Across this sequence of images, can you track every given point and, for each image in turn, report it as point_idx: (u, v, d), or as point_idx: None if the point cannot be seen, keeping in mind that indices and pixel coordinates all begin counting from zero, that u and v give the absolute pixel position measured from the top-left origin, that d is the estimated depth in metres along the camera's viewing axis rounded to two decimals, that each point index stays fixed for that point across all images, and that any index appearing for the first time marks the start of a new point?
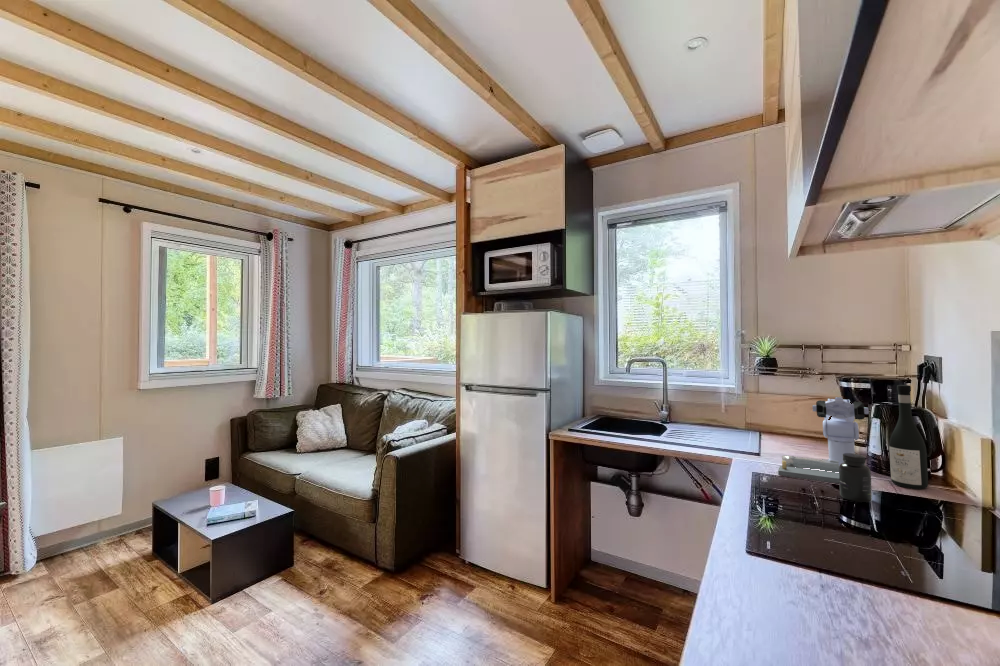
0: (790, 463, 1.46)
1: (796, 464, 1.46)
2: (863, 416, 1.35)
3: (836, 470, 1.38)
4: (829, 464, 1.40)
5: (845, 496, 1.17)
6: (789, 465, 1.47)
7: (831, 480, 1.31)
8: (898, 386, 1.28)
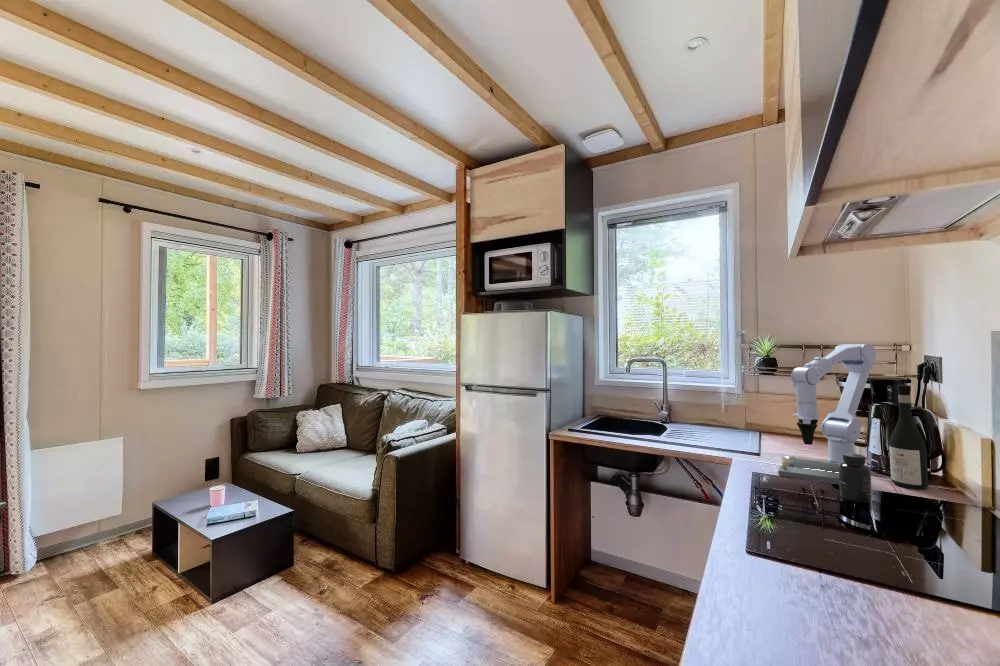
0: (790, 463, 1.46)
1: (796, 464, 1.46)
2: (813, 427, 1.40)
3: (836, 470, 1.38)
4: (829, 464, 1.40)
5: (845, 496, 1.17)
6: (789, 465, 1.47)
7: (831, 480, 1.31)
8: (898, 386, 1.28)
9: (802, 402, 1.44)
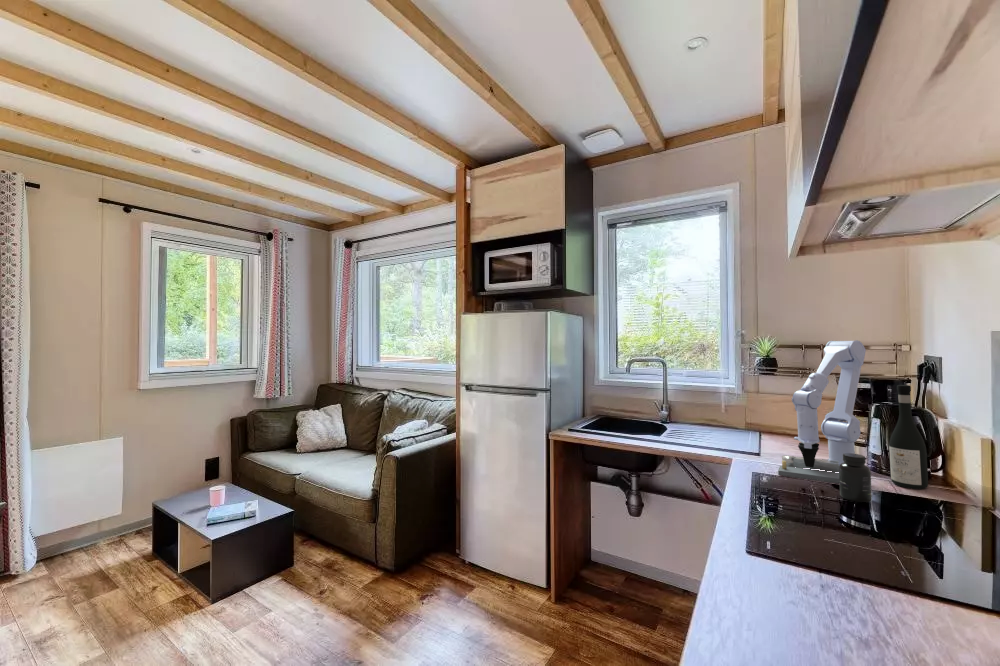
0: (790, 463, 1.46)
1: (796, 464, 1.46)
2: (814, 450, 1.41)
3: (836, 470, 1.38)
4: (829, 464, 1.40)
5: (845, 496, 1.17)
6: (789, 465, 1.47)
7: (831, 480, 1.31)
8: (898, 386, 1.28)
9: (803, 426, 1.44)
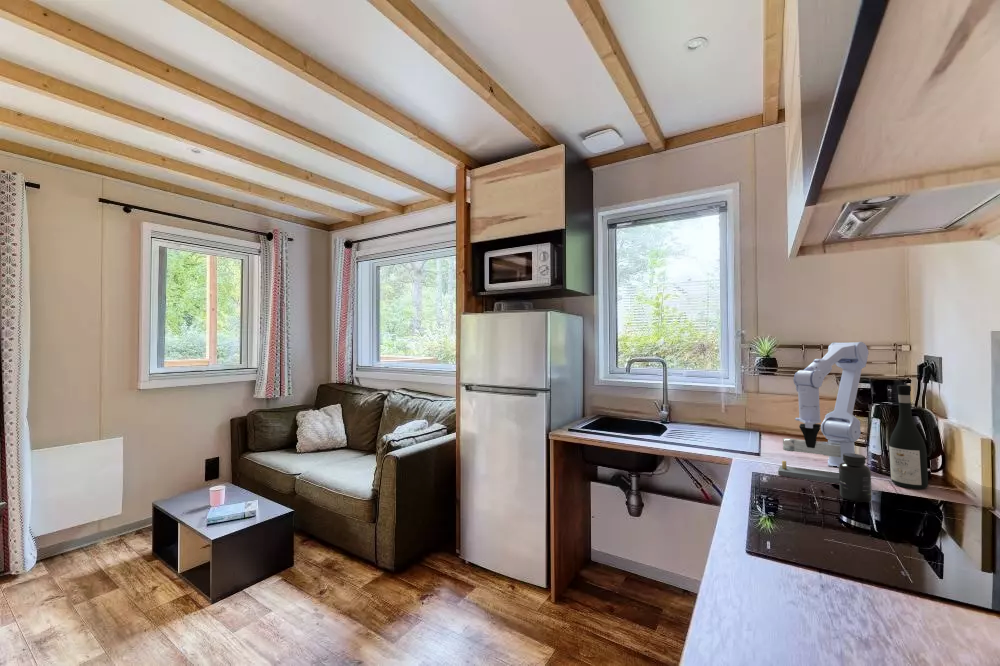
0: (790, 445, 1.44)
1: (797, 446, 1.44)
2: (816, 430, 1.39)
3: (838, 452, 1.36)
4: (830, 446, 1.37)
5: (845, 496, 1.17)
6: (790, 448, 1.44)
7: (831, 480, 1.31)
8: (898, 386, 1.28)
9: (804, 406, 1.42)
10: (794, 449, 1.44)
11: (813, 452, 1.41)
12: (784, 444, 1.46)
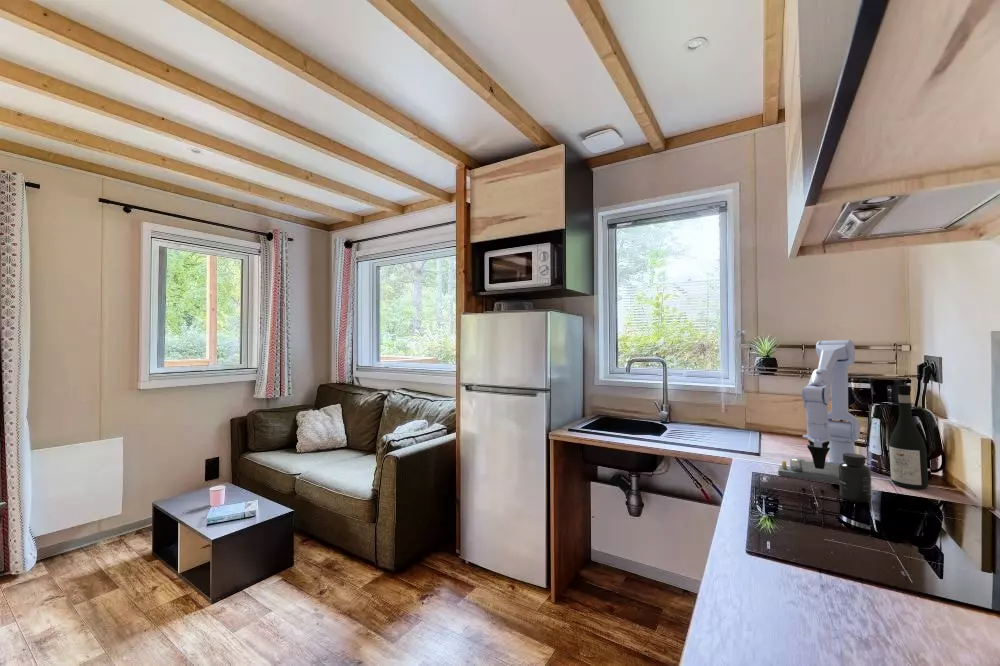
0: (798, 466, 1.38)
1: (805, 467, 1.37)
2: (825, 451, 1.30)
3: None
4: None
5: (845, 496, 1.17)
6: (798, 468, 1.38)
7: (831, 480, 1.31)
8: (898, 386, 1.28)
9: (813, 423, 1.35)
10: (802, 470, 1.37)
11: (822, 473, 1.34)
12: (791, 464, 1.39)
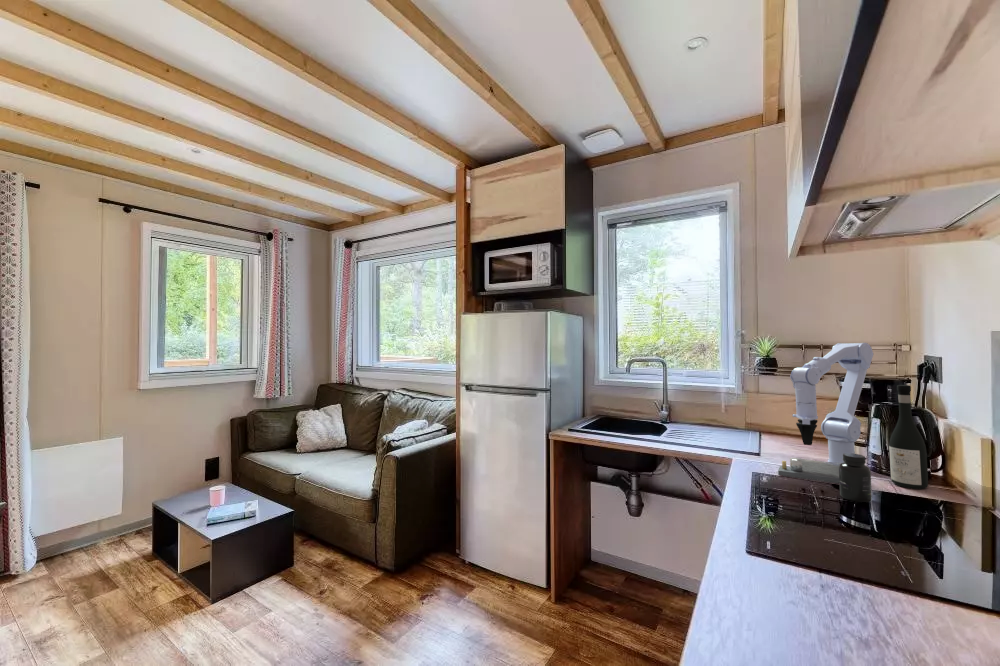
0: (798, 466, 1.38)
1: (805, 467, 1.37)
2: (813, 428, 1.39)
3: None
4: None
5: (845, 496, 1.17)
6: (798, 468, 1.38)
7: (831, 480, 1.31)
8: (898, 386, 1.28)
9: (801, 402, 1.43)
10: (802, 470, 1.37)
11: (822, 473, 1.34)
12: (791, 464, 1.39)
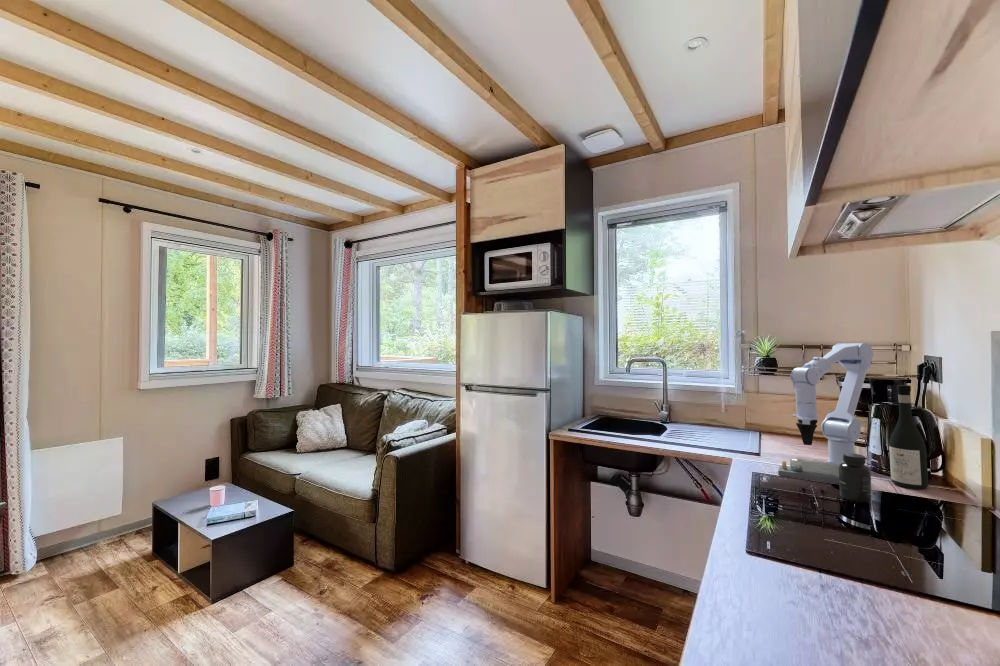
0: (798, 466, 1.38)
1: (805, 467, 1.37)
2: (813, 428, 1.39)
3: None
4: None
5: (845, 496, 1.17)
6: (798, 468, 1.38)
7: (831, 480, 1.31)
8: (898, 386, 1.28)
9: (801, 402, 1.43)
10: (802, 470, 1.37)
11: (822, 473, 1.34)
12: (791, 464, 1.39)
